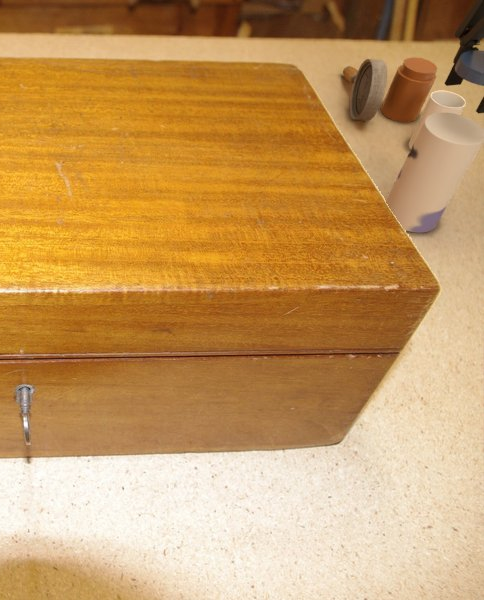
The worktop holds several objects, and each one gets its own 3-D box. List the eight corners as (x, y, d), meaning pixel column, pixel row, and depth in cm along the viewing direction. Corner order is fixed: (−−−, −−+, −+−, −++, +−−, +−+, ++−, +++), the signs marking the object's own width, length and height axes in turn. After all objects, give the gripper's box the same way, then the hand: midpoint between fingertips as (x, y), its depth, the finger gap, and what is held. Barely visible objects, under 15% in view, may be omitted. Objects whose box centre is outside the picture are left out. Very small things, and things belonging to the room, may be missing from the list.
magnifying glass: (349, 43, 168) (377, 65, 146) (362, 44, 167) (392, 67, 146) (334, 97, 174) (359, 126, 153) (346, 98, 174) (373, 128, 153)
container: (385, 194, 140) (428, 106, 126) (438, 209, 137) (488, 120, 123) (378, 223, 134) (422, 134, 120) (434, 239, 131) (486, 150, 117)
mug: (442, 160, 149) (468, 110, 140) (408, 155, 150) (433, 105, 141) (435, 133, 155) (460, 84, 146) (403, 129, 156) (426, 80, 147)
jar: (423, 113, 161) (446, 66, 152) (406, 126, 157) (429, 78, 148) (391, 99, 165) (411, 52, 156) (374, 111, 161) (394, 64, 152)
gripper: (474, -68, 108) (413, 68, 125) (570, -10, 94) (487, 134, 111) (517, -71, 109) (450, 64, 126) (618, -14, 96) (528, 129, 112)
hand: (468, 97), depth 119 cm, fingers closed on lid, 8 cm apart
